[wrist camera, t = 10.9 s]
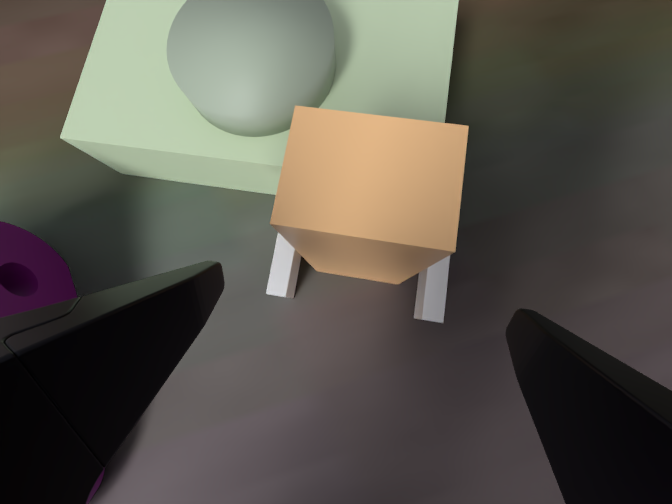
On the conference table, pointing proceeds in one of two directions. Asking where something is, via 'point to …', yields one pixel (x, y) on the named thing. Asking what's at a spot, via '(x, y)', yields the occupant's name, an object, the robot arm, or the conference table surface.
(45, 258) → the mounting bracket
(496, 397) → the conference table surface
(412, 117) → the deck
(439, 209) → the tan block
